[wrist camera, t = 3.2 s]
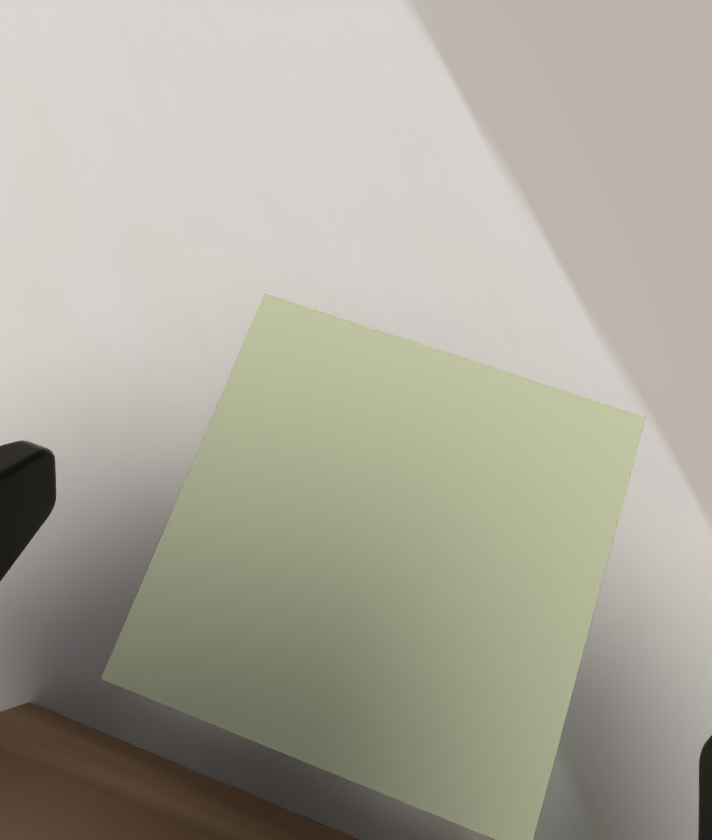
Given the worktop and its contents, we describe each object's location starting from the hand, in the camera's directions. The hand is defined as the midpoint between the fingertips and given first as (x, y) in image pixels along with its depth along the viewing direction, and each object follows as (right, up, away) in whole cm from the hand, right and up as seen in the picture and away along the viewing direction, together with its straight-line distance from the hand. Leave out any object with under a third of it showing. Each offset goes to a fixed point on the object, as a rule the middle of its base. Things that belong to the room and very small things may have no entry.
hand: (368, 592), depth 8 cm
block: (0, -2, +8) cm, 8 cm away
